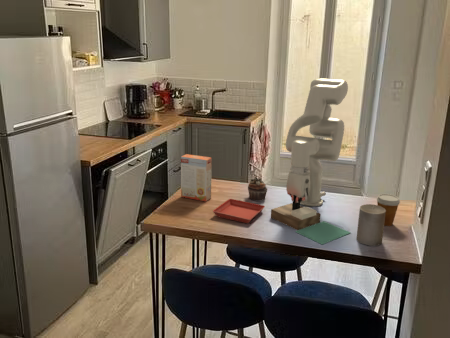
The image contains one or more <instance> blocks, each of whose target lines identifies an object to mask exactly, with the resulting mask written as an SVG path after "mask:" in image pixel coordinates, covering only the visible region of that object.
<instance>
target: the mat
mask: <svg viewBox="0 0 450 338" xmlns="http://www.w3.org/2000/svg"><path fill="white" fill-rule="evenodd" d="M294 232H295V233H297V234H299V235H301V236H303V237H305V238H307V239H309V240H311V241H314V242H316V243H317V244H320V245H325V244H327V243H330V242H332V241H335V240H337V239H340V238H343V237H344V236H347V235H349V234H351V231H348V230H346V229H344V228H340V227H339V226H337V225H334V224H331V223H329V222H327V221H320V223H317V224H314V225H311V226H308V227H306V228H303V229H300V230H296V231H294Z"/></svg>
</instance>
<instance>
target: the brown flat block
mask: <svg viewBox="0 0 450 338" xmlns="http://www.w3.org/2000/svg"><path fill="white" fill-rule="evenodd" d="M292 204H293V202H292V203H288V204H284V205H281V206H277V207H274V208H271V209H270V210H271V211H270V219H273V220H274V221H277V222H279V223H281V224H283V225H285V226H288V227H289V228H292V229H294V230H296V231H298V230H300V229H303V228H306V227H309V226H312V225H314V224H317V223H320V222H321V213H320V212H317V213H316V215H315V216H312V217H309V218H306V219H303V220H301V219H299V218H297V217H294V216H292V215H291V212H292V211H293V210H292ZM302 207H304V205H300V208H302Z"/></svg>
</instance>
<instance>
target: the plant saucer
mask: <svg viewBox="0 0 450 338" xmlns="http://www.w3.org/2000/svg"><path fill="white" fill-rule="evenodd" d="M264 209H265V205H263V204H262V205H261V204H257V203H252V202H248V201H242V200H239V199H233V198H228V199H227V200H225V201H224V202H223V203H221V204H220V205H219V206H217V207H216V208H214V209H213V210H212V212H213V214H214V215H215V216H216V217H218V218H220V219H221V218H222V219H225V220H226V219H227V220H230V221H236V222H239V223H243V224H244V223H245V224H248V223H250V222H251V221H252V220H253V219H255V217H257V216H258V215H259V213H261V212H262V211H263V210H264Z"/></svg>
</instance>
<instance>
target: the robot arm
mask: <svg viewBox="0 0 450 338" xmlns="http://www.w3.org/2000/svg"><path fill="white" fill-rule="evenodd" d="M309 86H310V89H309V91H308V96H307V98H306V103H305V106H304V111H303V114H302V115H300V116H299V117H297V119H295V120H294V121H293V123H292V124H291V125H290V126H289V129H288V132H287V137H286V140H285V149H286V151H288V152H289V153H290V154H291V155H290V156H291V157H290V169H289V171H288V174H287V179H286V193H287V195H288V196H290V198H291V202H292V203H293V204H292V210H296V209H299V208H300V206H303V207H319V206H322V205H323V203H324V200H323V199H322V197H324V196H326V195H327V194H326V191H322V180H323V179H322V178H323V169H324V168H323V165H322V163H321V161H331V162H335V161H337V160H339V157H340V155H341V150H342V144H343V138H344V132H345V122H344V121H343V119H340V118H336V117H331V116H332V106H339V105H340V104H341V103H342V102H343V101H344V100H345V98H346V96H347V94H348V90H349V84H348V82H347V81H346V80H344V79H333V78H332V79H331V78H315V79H313V80H312V81H311V82H310V85H309ZM307 126H309V130H308V131H309V134H310V135H311V136H312V137H310V136H303V135H297V133H299V131H300V130H301V129H303V128H305V127H307ZM313 136H314V137H313ZM315 137H318V138H315ZM323 138H324V139H323ZM325 138H326V139H325ZM320 160H321V161H320ZM321 191H322V192H321Z"/></svg>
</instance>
